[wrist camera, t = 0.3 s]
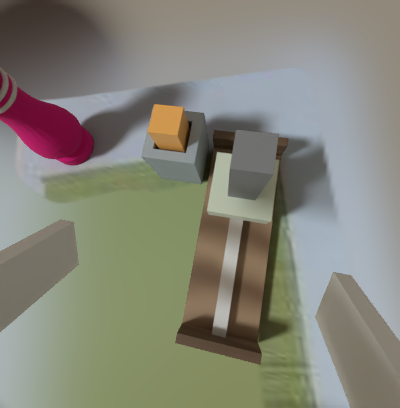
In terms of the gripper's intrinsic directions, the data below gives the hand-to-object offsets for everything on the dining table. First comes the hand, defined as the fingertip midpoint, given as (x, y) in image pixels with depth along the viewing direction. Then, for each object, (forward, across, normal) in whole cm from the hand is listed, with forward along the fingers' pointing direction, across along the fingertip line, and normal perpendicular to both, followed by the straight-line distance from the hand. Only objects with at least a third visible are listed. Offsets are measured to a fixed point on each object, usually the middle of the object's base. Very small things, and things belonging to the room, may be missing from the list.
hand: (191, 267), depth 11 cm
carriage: (+17, -3, +1) cm, 17 cm away
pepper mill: (+22, +24, -1) cm, 33 cm away
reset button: (+18, +6, -4) cm, 19 cm away
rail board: (+17, -3, +7) cm, 19 cm away
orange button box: (+22, +6, -1) cm, 23 cm away
